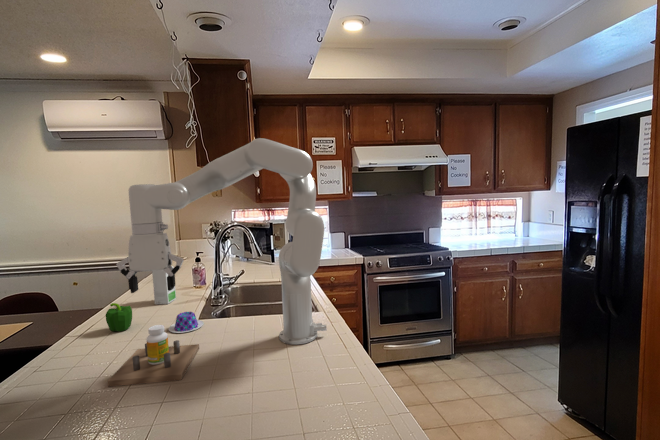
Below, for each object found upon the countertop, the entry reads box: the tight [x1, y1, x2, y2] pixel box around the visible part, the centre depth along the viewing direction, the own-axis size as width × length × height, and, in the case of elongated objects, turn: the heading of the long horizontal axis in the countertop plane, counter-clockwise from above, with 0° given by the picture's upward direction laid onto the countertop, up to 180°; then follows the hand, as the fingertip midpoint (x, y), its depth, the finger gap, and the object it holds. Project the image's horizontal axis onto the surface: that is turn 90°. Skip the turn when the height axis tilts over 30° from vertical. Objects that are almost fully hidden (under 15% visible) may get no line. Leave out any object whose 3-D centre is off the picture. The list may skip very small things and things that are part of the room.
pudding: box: [167, 311, 205, 334], centre depth 126 cm, size 12×12×5 cm
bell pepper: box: [105, 302, 133, 332], centre depth 125 cm, size 8×8×10 cm
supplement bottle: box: [145, 324, 170, 365], centre depth 98 cm, size 5×5×10 cm
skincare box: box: [151, 265, 177, 305], centre depth 156 cm, size 8×7×16 cm
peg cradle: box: [107, 340, 200, 387], centre depth 98 cm, size 18×18×5 cm
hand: (153, 290), depth 96 cm, fingers open, 9 cm apart
